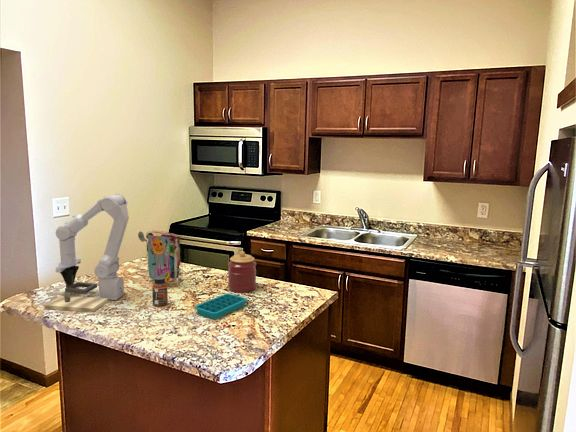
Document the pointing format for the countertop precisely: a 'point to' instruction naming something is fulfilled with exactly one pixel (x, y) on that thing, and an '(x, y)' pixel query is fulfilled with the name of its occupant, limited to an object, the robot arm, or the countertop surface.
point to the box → (163, 255)
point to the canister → (242, 273)
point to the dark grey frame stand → (73, 287)
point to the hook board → (76, 303)
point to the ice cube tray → (220, 305)
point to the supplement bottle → (159, 292)
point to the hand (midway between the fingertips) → (69, 283)
